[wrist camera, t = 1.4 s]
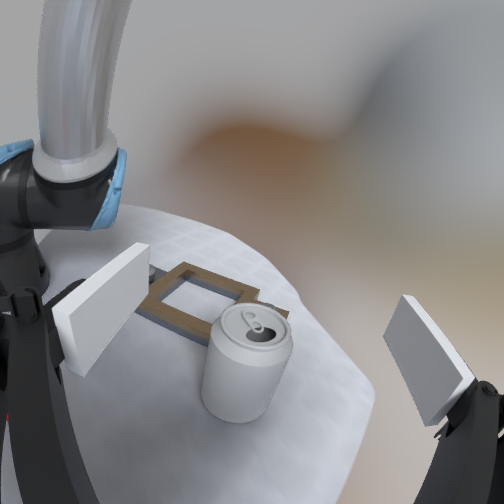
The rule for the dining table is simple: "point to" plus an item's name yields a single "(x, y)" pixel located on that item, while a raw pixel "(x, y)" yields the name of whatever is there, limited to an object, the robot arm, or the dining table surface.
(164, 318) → the chain end upper
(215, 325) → the can
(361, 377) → the dining table surface
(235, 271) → the dining table surface
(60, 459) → the robot arm
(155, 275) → the chain end lower
